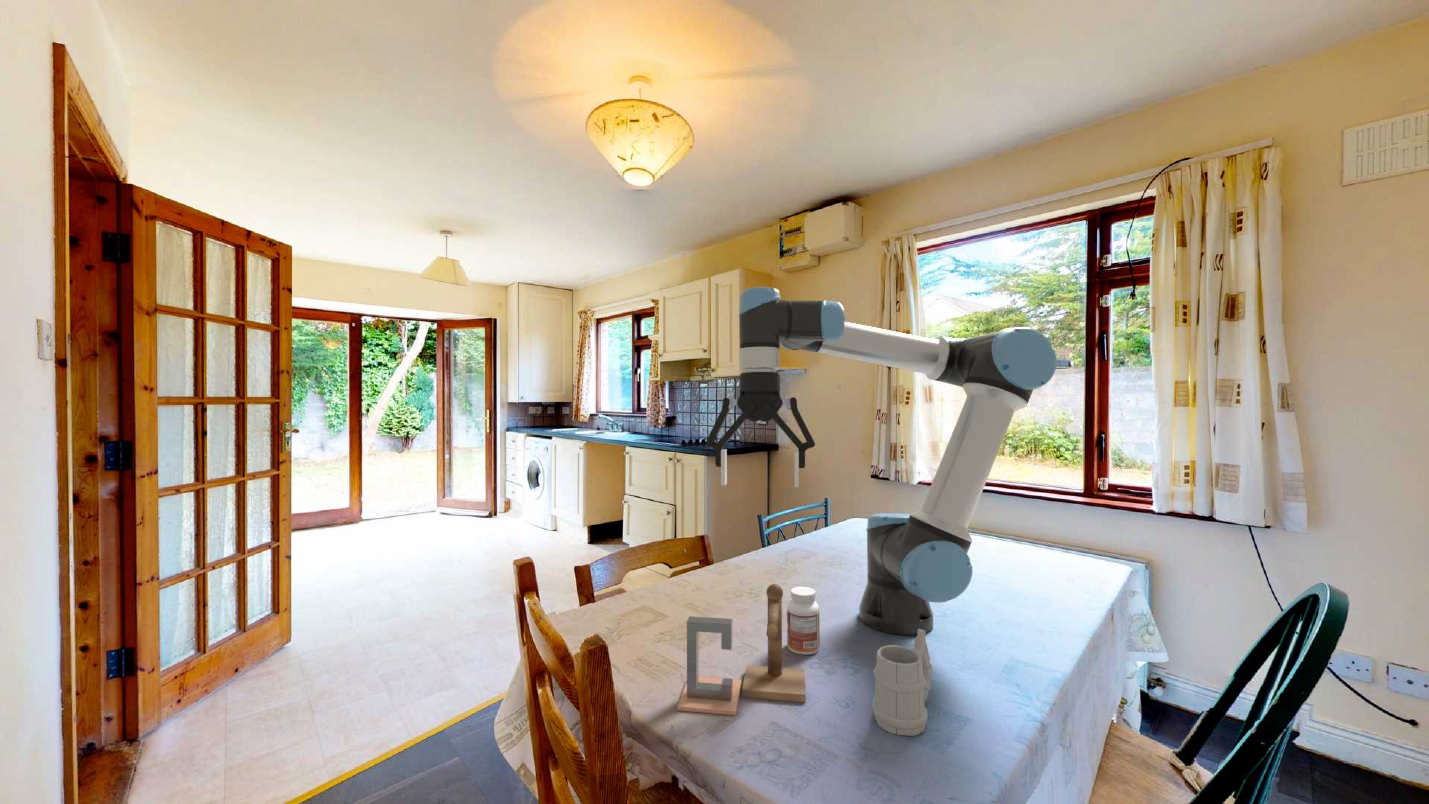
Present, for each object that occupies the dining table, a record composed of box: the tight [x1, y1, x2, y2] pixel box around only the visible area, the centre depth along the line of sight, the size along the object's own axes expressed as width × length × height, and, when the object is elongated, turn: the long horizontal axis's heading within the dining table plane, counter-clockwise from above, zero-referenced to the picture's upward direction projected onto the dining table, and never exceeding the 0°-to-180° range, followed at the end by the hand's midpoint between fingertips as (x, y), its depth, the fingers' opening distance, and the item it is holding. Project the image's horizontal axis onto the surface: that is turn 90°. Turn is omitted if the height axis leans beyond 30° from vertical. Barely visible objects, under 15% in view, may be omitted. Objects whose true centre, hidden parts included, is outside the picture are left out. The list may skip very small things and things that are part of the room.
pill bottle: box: [786, 586, 821, 656], centre depth 100 cm, size 6×6×11 cm
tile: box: [676, 676, 743, 716], centre depth 84 cm, size 9×9×1 cm
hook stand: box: [741, 583, 807, 703], centre depth 84 cm, size 14×10×16 cm
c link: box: [686, 616, 734, 701], centre depth 83 cm, size 7×2×12 cm, turn 81°
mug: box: [871, 629, 933, 737], centre depth 78 cm, size 8×12×12 cm, turn 127°
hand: (759, 485), depth 98 cm, fingers open, 13 cm apart
